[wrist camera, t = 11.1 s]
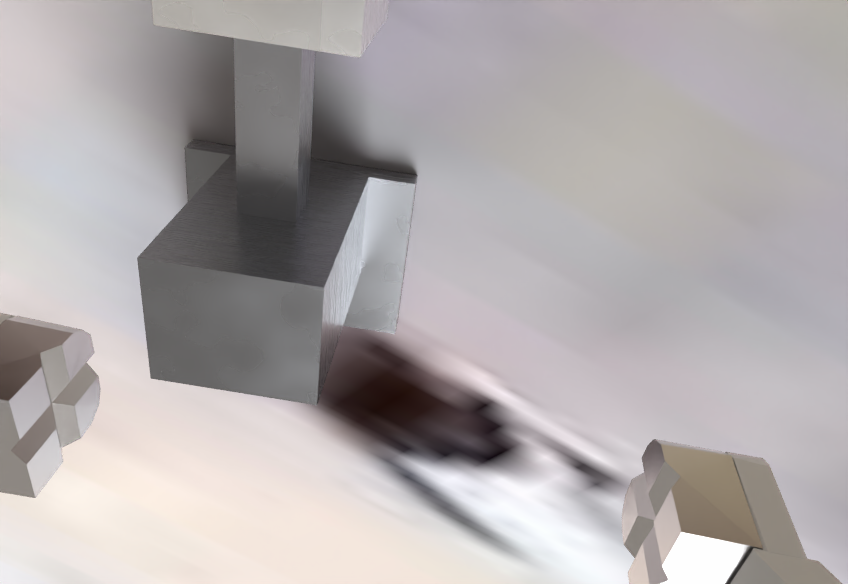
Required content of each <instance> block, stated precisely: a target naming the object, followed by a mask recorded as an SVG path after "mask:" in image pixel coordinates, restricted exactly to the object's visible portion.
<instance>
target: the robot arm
mask: <svg viewBox="0 0 848 584" xmlns="http://www.w3.org/2000/svg"><path fill="white" fill-rule="evenodd" d="M93 354H94V348H93V344H92V339H91V335H90V334H89V333H87V332H85V331H84V330H81V329H77V328H72V327H67V326H63V325H58V324H53V323H49V322H44V321H40V320H35V319H30V318H26V317H21V316H12V315H8V314H3V313H0V492H3V493H9V494H15V495H21V496H27V497H33V498H36V497H37V495H38V494H39V493H40V491H41V490H42V489H43V487H44V486H45V485H46V483H47V482H48V481H49V480H50V478H51V477H52V476H53V474H54V473H55V472H56V470H57V469H58V468H59V466H60V465H61V464H62V463H63V455H62V447H64V446H66V445H68V444H70V443H72V442H74V441H76V440H78V439H80V438H81V437H82V436H83V435H84V433H85V432H86V430H87V429H88V428H89V426H90V425H91V423H92V421H93V418H94V416H95V413H96V411H97V408H98V405H99V399H100V383H99V377H98V375H97V374H96V373H95V372H94V371H93V369H92V368H91V367H90V366H89V365H88V364H87V363H86V362H87V361H88V360H89V358H90V357H91V356H92V355H93ZM642 462H643V467H644V473H642V474H641V475H639V476H637V477H635V478H633V479H632V480H631V483H630V485H629V488H628V490H627V493H626V495H625V500H624V505H623V511H622V534H623V542H624V545H625V547H626V548H627V549H628V550H629V552H630V553H631V554H632V555H633V557H634V558H635V559H634V561H633V563H632V565H631V567H630V569H629V571H628V577H629V584H842V583H841V582H840V581H839V580H838V579H837V578H836V577H835V576H834V575H833V574H832V573H830V572H829V571H828V570H827V569H826V568H825V567H824V566H823V565H822V564H821V563H820V562H819V561H815V560H810V559H807V557H806V554H805V552H804V550H803V547H802V545H801V542H800V540H799V537H798V535H797V532H796V530H795V527H794V525H793V522H792V520H791V517H790V515H789V513H788V510H787V508H786V505H785V503H784V500H783V498H782V495H781V493H780V490H779V488H778V485H777V483H776V480H775V478H774V476H773V473H772V471H771V468H770V466H769V464H768V463H767V462H766V461H765V460H764V459H763V458H758V457H753V456H747V455H741V454H736V453H730V452H725V453H724V452H721V451H716V450H711V449H705V448H700V447H694V446H689V445H683V444H678V443H673V442H667V441H662V440H656V439H654V440H653V441H652V442H651V443H650V444H649V445H648V446H647V448H646V450H645V452H644V454H643V456H642Z"/></svg>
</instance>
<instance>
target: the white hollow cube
mask: <svg viewBox="0 0 848 584" xmlns="http://www.w3.org/2000/svg"><path fill="white" fill-rule="evenodd" d="M151 2H152V14H153V25H155V26H162V27H168V28H174V29H181V30H187V31H193V32H200V33H206V34H212V35H219V36H225V37H231V38H238V39H244V40H250V41H257V42H263V43H269V44H276V45H282V46H288V47H295V48H301V49H307V50H314V51H320V52H326V53H333V54H339V55H346V56H352V57H358V58H360V57H361V56H362V55H363V53H364V52H365V50H366V49H367V47H368V46H369V45H370V43H371V42H372V40H373V39H374V37H375V36H376V34H377V33H378V32H379V30H380V29H381V27H382V26H383V24H384V23H385V22H386V20H387V19H388V9H389V0H151Z"/></svg>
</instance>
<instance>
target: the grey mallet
mask: <svg viewBox="0 0 848 584" xmlns="http://www.w3.org/2000/svg"><path fill="white" fill-rule="evenodd" d="M314 70H315V51H314V50H307V49H301V48H295V47H288V46H282V45H276V44H269V43H263V42H257V41H250V40H244V39H238V38H234V87H235V138H236V146H230V145H223V144H217V143H211V142H204V141H198V140H193V141H191V142H190V143H189V144H188V145H187V146H186V147H185V162H186V178H187V194H188V203H187V204H186V205H185V206H184V207H183V208H182V209H181V210H180V211H179V212H178V214H177V215H176V216H175V217H174V218H173V219H172V220H171V221H170V222H169V223H168V225H167V226H166V227H165V228H164V229H163V230H162V231H161V232H160V233H159V235H158V236H157V237H156V238H155V239H154V240H153V241H152V242H151V243H150V244H149V246H148V247H147V248H146V249H145V250H144V251H143V252H142V253H141V254H140V255H139V257H138V258H137V259H138V268H139V277H140V286H141V295H142V304H143V313H144V322H145V331H146V340H147V349H148V358H149V367H150V375H151V378H152V379H158V380H164V381H170V382H176V383H183V384H189V385H195V386H201V387H207V388H214V389H220V390H226V391H232V392H238V393H245V394H251V395H257V396H263V397H269V398H276V399H282V400H288V401H294V402H301V403H307V404H313V405H317V403H318V400H319V397H320V394H321V391H322V388H323V385H324V382H325V379H326V376H327V373H328V370H329V367H330V364H331V361H332V358H333V355H334V352H335V349H336V346H337V343H338V340H339V337H340V334H341V331H342V328H343V326H348V327H354V328H361V329H367V330H373V331H379V332H386V333H392V334H395V332H396V327H397V323H398V315H399V308H400V300H401V293H402V286H403V278H404V271H405V264H406V256H407V249H408V241H409V234H410V227H411V219H412V212H413V204H414V197H415V190H416V182H417V175H412V174H406V173H399V172H393V171H387V170H380V169H374V168H368V167H362V166H355V165H349V164H343V163H336V162H330V161H324V160H318V159H311V139H312V116H313V93H314Z"/></svg>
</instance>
